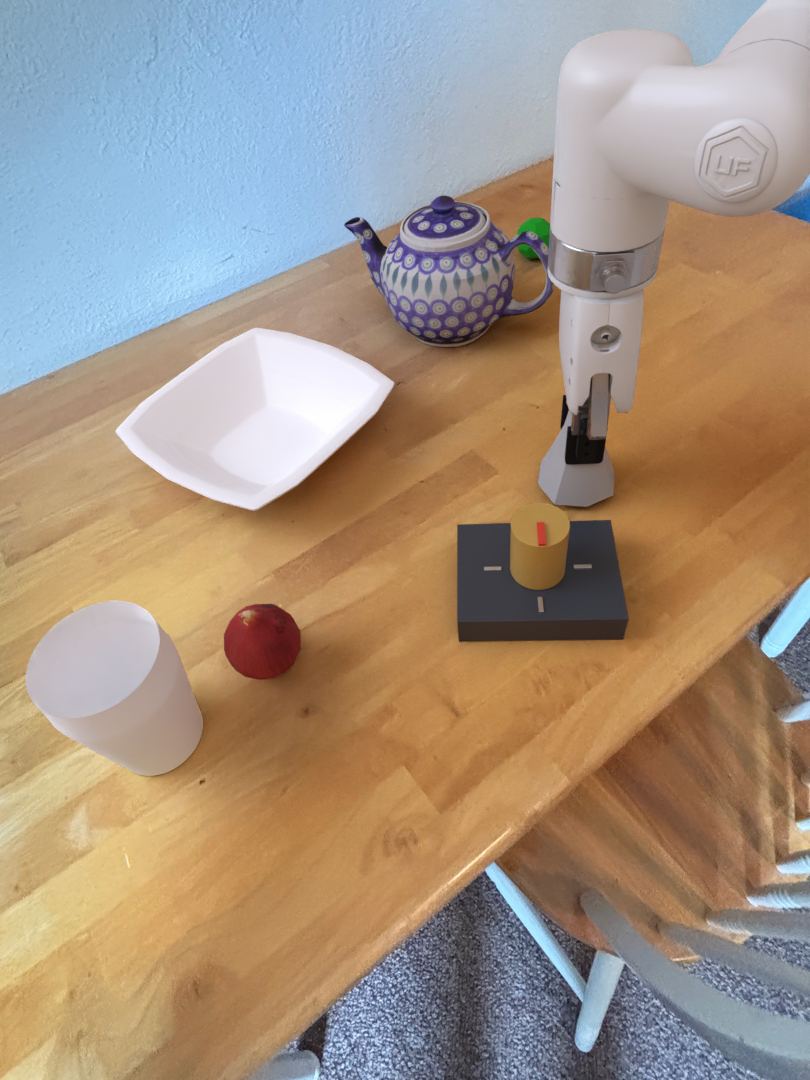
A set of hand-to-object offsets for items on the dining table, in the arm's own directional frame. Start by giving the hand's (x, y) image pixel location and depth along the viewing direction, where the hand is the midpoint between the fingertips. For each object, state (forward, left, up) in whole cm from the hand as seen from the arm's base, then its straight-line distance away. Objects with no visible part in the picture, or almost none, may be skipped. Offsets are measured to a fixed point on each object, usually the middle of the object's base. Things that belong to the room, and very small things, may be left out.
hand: (580, 444), depth 63 cm
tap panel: (+5, +12, -5) cm, 14 cm away
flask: (0, 0, -5) cm, 5 cm away
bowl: (+31, -7, -5) cm, 32 cm away
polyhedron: (+1, -42, -5) cm, 42 cm away
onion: (+26, +19, -5) cm, 33 cm away
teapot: (+12, -28, -5) cm, 31 cm away
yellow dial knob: (+5, +12, -2) cm, 13 cm away
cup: (+34, +25, -5) cm, 43 cm away
